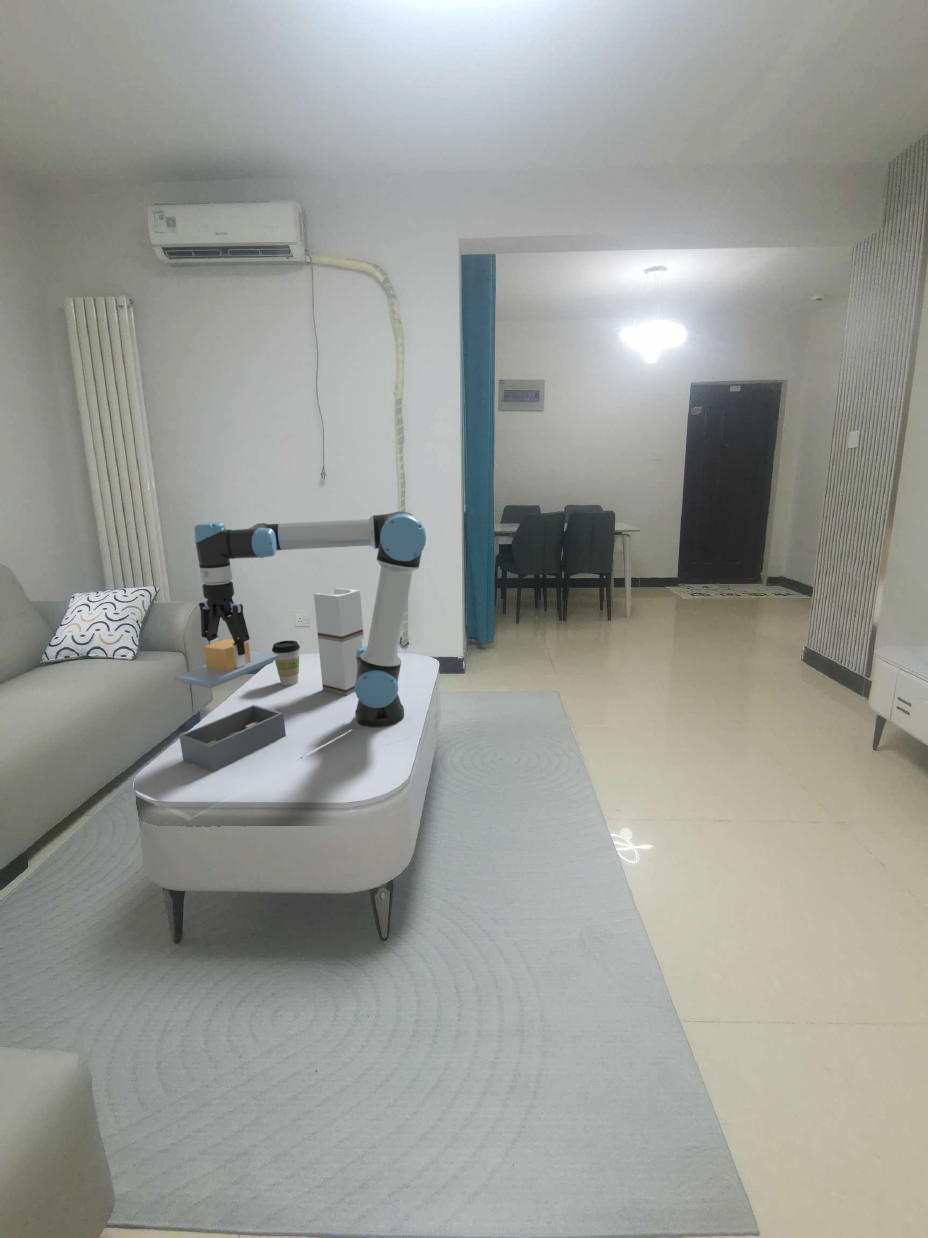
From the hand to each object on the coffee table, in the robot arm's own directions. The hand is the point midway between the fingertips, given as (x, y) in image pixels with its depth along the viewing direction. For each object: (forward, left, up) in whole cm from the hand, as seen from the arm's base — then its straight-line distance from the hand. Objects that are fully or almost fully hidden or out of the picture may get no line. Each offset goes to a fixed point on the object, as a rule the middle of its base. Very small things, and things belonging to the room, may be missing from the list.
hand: (229, 664), depth 160 cm
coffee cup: (+29, -44, -25) cm, 58 cm away
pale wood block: (0, -6, -24) cm, 25 cm away
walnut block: (0, +8, -24) cm, 26 cm away
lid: (0, 0, -1) cm, 1 cm away
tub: (0, +1, -25) cm, 25 cm away
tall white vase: (+7, -50, -25) cm, 56 cm away
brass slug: (0, +1, -24) cm, 24 cm away
